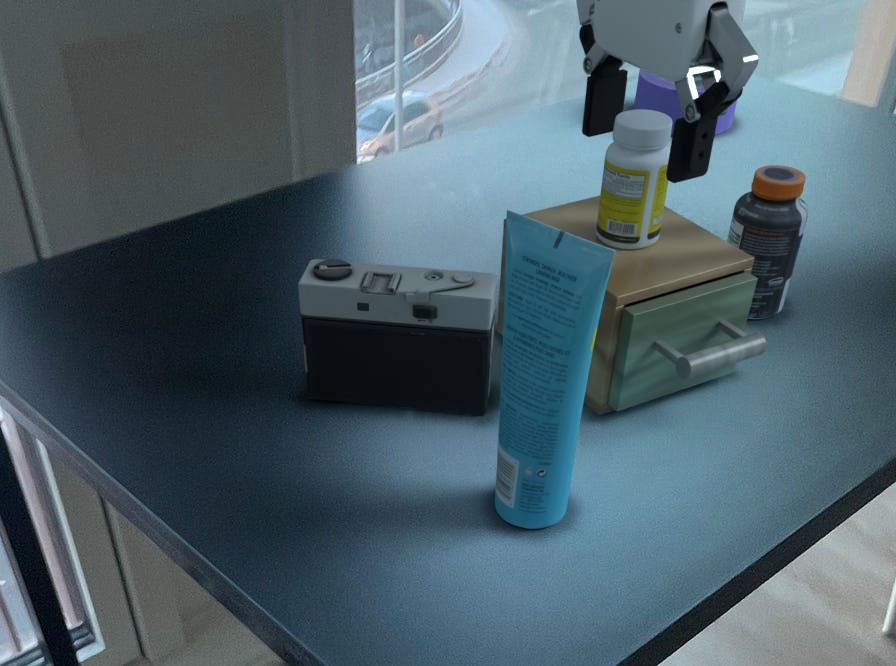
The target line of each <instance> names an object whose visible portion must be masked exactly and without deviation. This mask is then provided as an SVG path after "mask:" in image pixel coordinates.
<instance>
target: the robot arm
mask: <svg viewBox="0 0 896 666" xmlns="http://www.w3.org/2000/svg"><path fill="white" fill-rule="evenodd" d="M746 2H747V1H746V0H576V8H577V9H576V10H577V14H578V21H579V22H578V23H579V26H580V28H579V31H578V32H579V33H578V37H579V41H580V44H581V47H582V49H583V53H584V58H583V60H582V69H583V72H584V73H585V74H586V75H587V78H586V86H585V87H586V88H585V98H584V106H583V117H582V126H581V134H582V135H584V136H586V137H587V138H591V137H595V136H600V135H604V134H609V133H613V129H614V124H615V118H616V116H617V115H618V114H619V113H621V112H624V107H625V99H626V92H627V84H628V74H629V70H627V69H624V68H623V69H621V68H622V67H623V66H624V64H625V63H627V64H629V65H631V66H633V67H636V68H638V69H639V70H640V69H642V70H644V71H647V72H649V73H651V74H653V75H656V76H658V77H660V78H663V79H665V80H668V81H673V82H674V83H675V87H676V90H677V94H678V98H679V101H680V105H681V109H682V112H683V116H684V118H679V119H676V122H675V124H674V130H673V136H672V135H671V143H670V154H669V160H668V166H667V172H666V177H667V180H668V182H670V183H672V184H677V183H681V182H684V181H688V180H692V179H696V178H700V177H703V176H705V175H706V174H707V173H708V170H709V166H710V161H711V156H712V151H713V145H714V140H715V130H716V125H717V120H718V117H719V116H723V115H725V114H726V112H727V111H728V107H729V106H730V105H732V104H733V103H734V102H735V101H736V100H737V101H738V99H740V98H741V96H742V94H743V92H744V87H745V86H746V85H747V83H748V82H749V80H750V78H751V77H752V75H753V74H754V72H755V71H756V69H757V67H758V65H759V60H760V59H759V54H758V52H757V51H756V50H755V48H754V47H753V45H752V44H751V42H750V40H748V38H747V36H746V35H745V33H744V32H743V31H742V27H743V21H744V15H745V8H746ZM691 63H693V64H695V65H694V66H690V64H691ZM720 72H722V73H720ZM697 80H702V83H703V86H704V90H705V92H704V93H703V94H702V95H701V96H700V97H699V96H698V93H697V89H696V85H695V82H694V81H697Z"/></svg>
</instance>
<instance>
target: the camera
mask: <svg viewBox="0 0 896 666" xmlns="http://www.w3.org/2000/svg"><path fill="white" fill-rule="evenodd" d="M497 283H498V276H497V275H496V273H495V274H494V273H492V272H481V271H468V270H456V269H443V268H433V267H432V268H431V267H421V266H420V267H418V266H406V265H405V266H404V265H394V264H393V265H392V264H381V263H369V262H367V263H366V262H355V261H345V260H342V259H334V258H333V259H332V258H330V259H318V258H314V259H311V260H310V261H309V263H308V264H307V266H306V268H305V270H304V271H303V274H302V275H301V278H300V279H299V280H298V283H297V288H298V298H299V299H298V300H299V310H300V312H299V313H300V320H301V331H302V339H303V344H302V345H303V358H304V369H305V374H306V375H305V376H306V385H307V396H308V397H307V398H308V399H310V400H321V401H328V402H329V401H331V402H339V403H342V402H343V403H352V404H361V405H362V404H363V405H370V406H371V405H373V406H382V407H383V406H384V407H391V408H393V407H394V408H401V409H403V408H404V409H414V410H422V411H423V410H425V411H434V412H445V413H455V414H466V415H477V416H485V415H486V412H487V407H488V404H489V399H490V393H491V384H492V370H493V354H494V353H493V352H494V336H495V320H496V301H497V285H498V284H497Z"/></svg>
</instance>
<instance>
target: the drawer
mask: <svg viewBox="0 0 896 666" xmlns="http://www.w3.org/2000/svg"><path fill="white" fill-rule="evenodd" d="M757 279H758V278H757V277H755V276H753V275H752V274H750V273H748V272H744V273H741V274H738V275H734V276H731V277H727V278H725V276H721V277H718V278H714V279H711V280H708V281H704V282H701V283H697V284H694V285H691V286H687V287H684V288H680V289H677V290H674V291H670V292H667V293H663V294H660V295H656V296H653V297H650V298H646V299H643V300H639V301H636V302H633V303H629V304H626V305H624V308H623V313H622V319H621V326H620V332H619V338H618V344H617V351H616V357H615V363H614V369H613V376H612V382H611V388H610V394H609V401H608V404H609V405H610V406H611V407H612V408H614V409H615V410H614V411H616V412H620V411H623V410H626V409H629V408H632V407H635V406H637V405H641V404H645V403H646V402H649V401H653V400H655V399H658V398H662V397H665V396H667V395H670V394H674V393H677V392H680V391H682V390H685V389H688V388H691V387H694V386H698V385H700V384H703V383H706V382H710V381H712V380H716V379H718V378H721V377H724V376H727V375H729V374H733V373H734V372H735V368H736V365H737V363H739V362H742V361H743V362H744V361H746V360H749V359H751V358H755V357H758V356H760V355H763V354H764V353H765V352H766V349H767V346H768V345H767V339H766V338H765V335H763V333H761V332H753V333H750V334H748V333H746V332H745V329H746V326H747V322H748V314H749V310H750V307H751V303H752V299H753V295H754V291H755V287H756V283H757Z"/></svg>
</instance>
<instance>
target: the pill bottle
mask: <svg viewBox="0 0 896 666" xmlns="http://www.w3.org/2000/svg"><path fill="white" fill-rule="evenodd" d="M805 183H806V174H805V173H804V172H803V171H801V170H800V169H798V168H795V167H792V166H786V165H779V164H778V165H776V164H771V165H764V166H761V167H760V166H759V168H757V169H756V170H755V171H754V175H753V179H752V182H751V185H750V187H751V190H750V191H748V192H746V193H744V194H743V195H741V196H740V197H739V198H738V199H737V200H736V202H735V204H734V207H733V212H732V216H731V220H730V226H729V230H728V234H727V239H726V241H727V242H728V243H730V244H732V245H734V246H735V247H737V248H739V249H741V250H742V251H744V252H746V253H748V254H749V255H751V256H753V257H754V262H753V266H752V270H751V274H752V275H753V276H755V277H757V278H758V279H757V283H756V287H755V291H754V295H753V299H752V303H751V307H750V310H749V314H748V318H747V320H748V319H750V320H762V319H767V318H770V317H773V316H776V315H778V314H780V312H781V311H782V310H783V308H784V305H785V302H786V298H787V295H788V291H789V287H790V283H791V280H792V276H793V273H794V269H795V266H796V263H797V259H798V258H797V257H798V254H799V251H800V247H801V244H802V240H803V236H804V232H805V229H806V226H807V225H806V224H807V221H808V218H809V208H808V205H807V203H806V202H805V200H803V199H802V198H801V195H802V194H803V192H804V187H805Z"/></svg>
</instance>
